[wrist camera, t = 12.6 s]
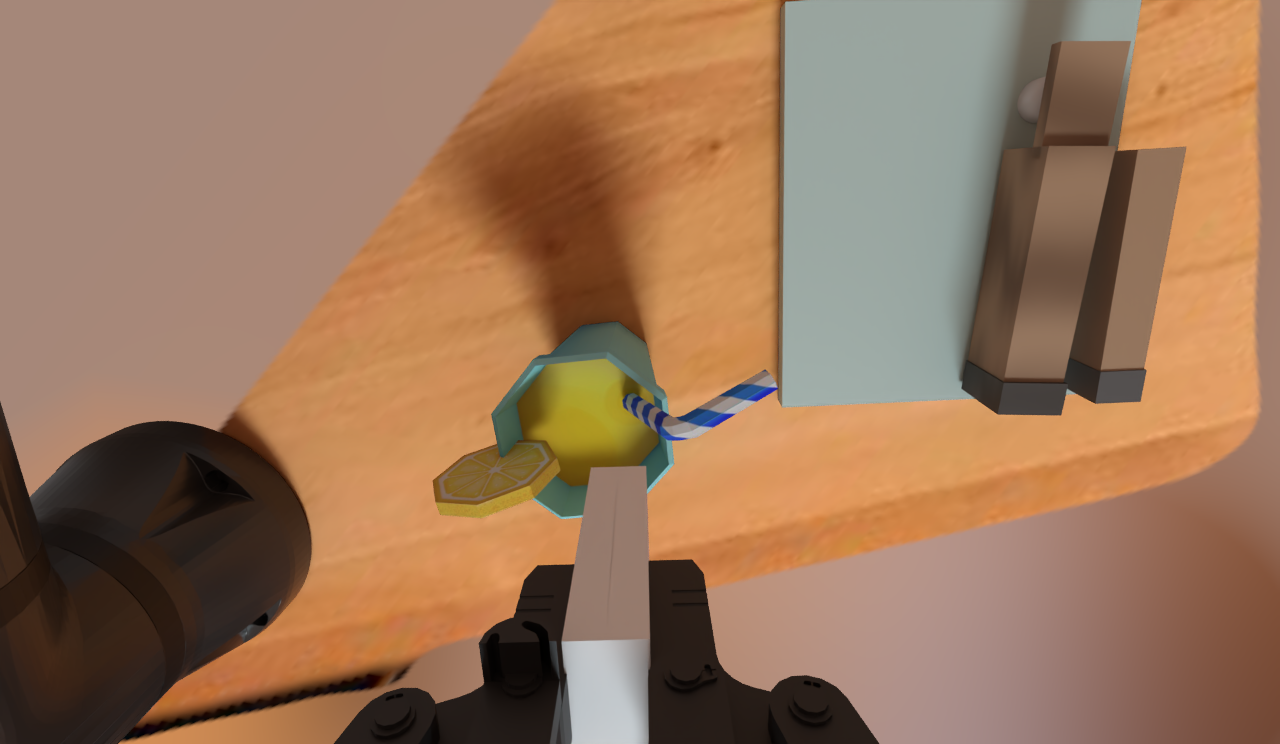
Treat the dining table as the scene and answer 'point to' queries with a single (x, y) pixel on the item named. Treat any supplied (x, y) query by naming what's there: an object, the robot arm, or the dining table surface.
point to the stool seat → (940, 195)
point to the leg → (1045, 235)
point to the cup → (580, 426)
